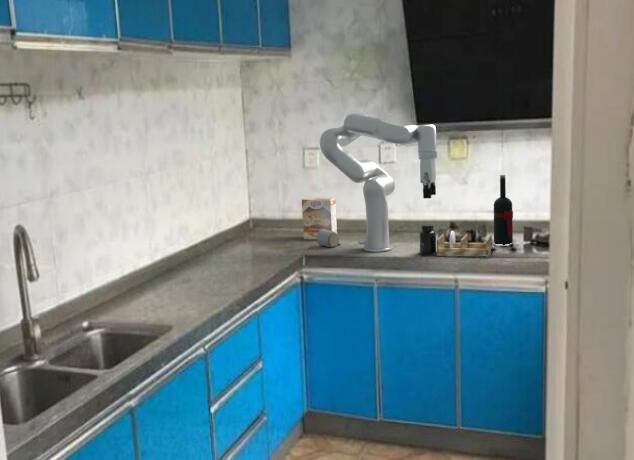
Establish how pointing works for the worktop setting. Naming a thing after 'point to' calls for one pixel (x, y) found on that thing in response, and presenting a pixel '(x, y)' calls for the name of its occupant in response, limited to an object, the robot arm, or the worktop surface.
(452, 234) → the plate
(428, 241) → the supplement bottle
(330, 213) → the coffeecake box
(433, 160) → the robot arm
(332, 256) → the worktop surface
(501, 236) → the wine bottle
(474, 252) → the rack
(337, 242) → the ceramic mug
